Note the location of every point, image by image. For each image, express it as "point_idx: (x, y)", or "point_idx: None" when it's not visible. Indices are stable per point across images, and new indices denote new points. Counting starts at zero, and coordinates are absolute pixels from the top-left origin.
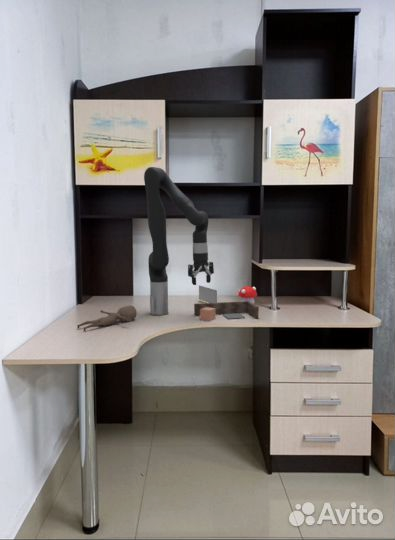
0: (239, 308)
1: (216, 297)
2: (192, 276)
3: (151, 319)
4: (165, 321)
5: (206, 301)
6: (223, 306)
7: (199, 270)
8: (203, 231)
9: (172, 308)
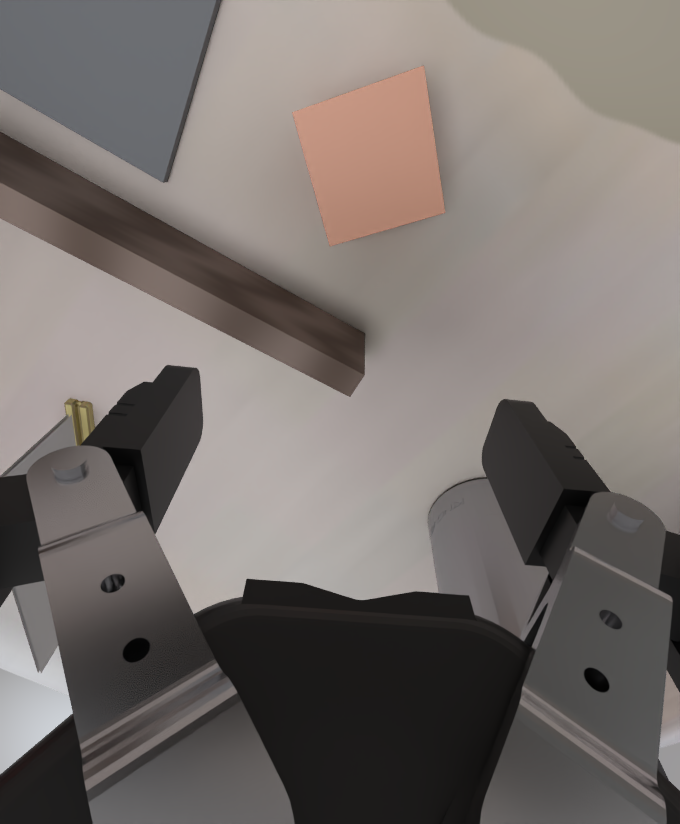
0: None
1: (31, 452)
2: (673, 544)
3: (640, 449)
4: (641, 352)
5: None
6: (104, 220)
7: (560, 646)
8: None
9: (335, 551)
